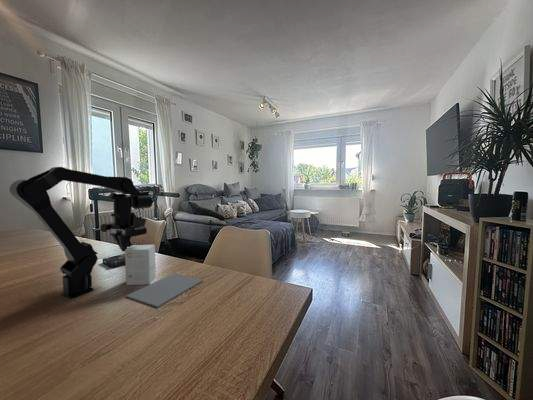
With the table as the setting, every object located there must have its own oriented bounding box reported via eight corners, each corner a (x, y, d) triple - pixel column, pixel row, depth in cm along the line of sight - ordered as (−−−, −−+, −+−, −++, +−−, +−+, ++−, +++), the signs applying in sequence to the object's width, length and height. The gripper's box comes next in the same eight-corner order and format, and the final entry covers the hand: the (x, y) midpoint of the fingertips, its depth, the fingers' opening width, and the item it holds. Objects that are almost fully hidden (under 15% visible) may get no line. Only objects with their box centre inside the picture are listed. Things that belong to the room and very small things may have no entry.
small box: (156, 277, 89) (155, 244, 88) (149, 284, 83) (148, 249, 82) (134, 278, 88) (132, 244, 87) (125, 285, 82) (124, 249, 81)
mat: (157, 307, 68) (157, 306, 68) (126, 297, 74) (126, 295, 74) (202, 281, 86) (202, 280, 86) (174, 274, 92) (174, 273, 92)
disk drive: (112, 270, 97) (147, 260, 109) (111, 263, 96) (147, 254, 108) (102, 264, 103) (136, 255, 115) (101, 258, 102) (136, 250, 114)
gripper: (158, 209, 91) (159, 249, 92) (126, 206, 98) (127, 242, 99) (131, 213, 80) (133, 257, 82) (98, 209, 88) (100, 249, 89)
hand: (124, 251), depth 88 cm, fingers closed
